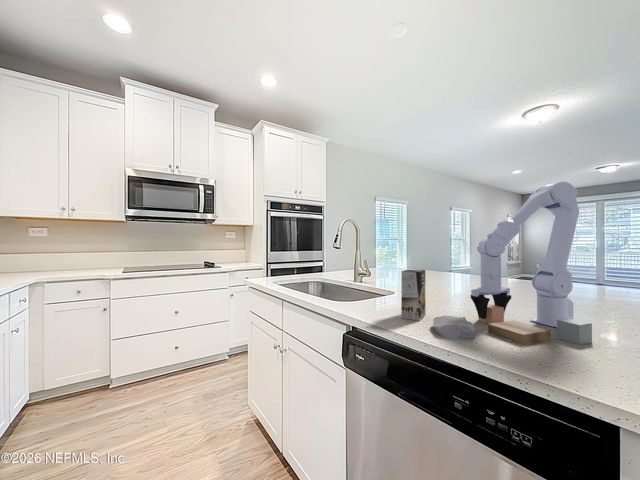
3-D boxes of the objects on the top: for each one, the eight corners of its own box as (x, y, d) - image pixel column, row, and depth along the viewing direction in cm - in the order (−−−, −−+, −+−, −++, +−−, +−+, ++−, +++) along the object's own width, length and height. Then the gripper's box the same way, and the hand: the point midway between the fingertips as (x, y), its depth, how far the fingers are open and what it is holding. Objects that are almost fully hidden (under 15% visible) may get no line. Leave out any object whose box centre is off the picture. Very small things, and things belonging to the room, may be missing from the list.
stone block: (440, 344, 75) (479, 339, 73) (436, 326, 76) (475, 321, 74) (431, 332, 87) (465, 327, 85) (428, 316, 87) (462, 312, 85)
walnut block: (513, 330, 82) (513, 320, 82) (550, 342, 73) (550, 330, 73) (487, 334, 79) (487, 323, 79) (523, 346, 70) (523, 334, 70)
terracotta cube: (489, 319, 94) (489, 304, 94) (503, 323, 89) (503, 307, 89) (478, 320, 92) (478, 305, 92) (492, 324, 87) (492, 308, 87)
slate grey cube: (569, 336, 76) (569, 318, 76) (592, 342, 72) (591, 323, 72) (557, 338, 75) (556, 319, 75) (579, 345, 70) (579, 325, 70)
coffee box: (420, 321, 91) (420, 271, 91) (400, 318, 94) (400, 270, 94) (426, 315, 98) (426, 269, 98) (407, 312, 102) (407, 268, 102)
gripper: (495, 273, 97) (496, 312, 97) (463, 274, 92) (463, 315, 92) (515, 275, 90) (516, 317, 90) (482, 277, 85) (482, 321, 85)
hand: (490, 317), depth 90 cm, fingers open, 7 cm apart
